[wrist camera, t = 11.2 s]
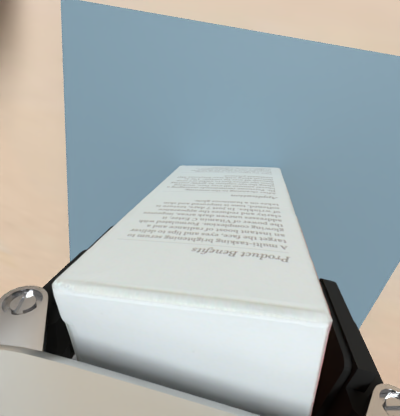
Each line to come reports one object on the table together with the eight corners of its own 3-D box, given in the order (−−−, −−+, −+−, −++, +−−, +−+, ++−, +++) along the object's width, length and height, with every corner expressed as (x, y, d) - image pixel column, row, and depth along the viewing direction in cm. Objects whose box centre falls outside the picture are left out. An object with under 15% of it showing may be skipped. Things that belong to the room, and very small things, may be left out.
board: (482, 77, 12) (511, 75, 11) (323, 360, 21) (328, 379, 19) (79, 6, 14) (60, -3, 13) (82, 294, 22) (71, 307, 21)
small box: (270, 287, 17) (290, 538, 7) (185, 279, 18) (106, 489, 8) (283, 163, 14) (346, 324, 4) (178, 161, 15) (40, 286, 5)
